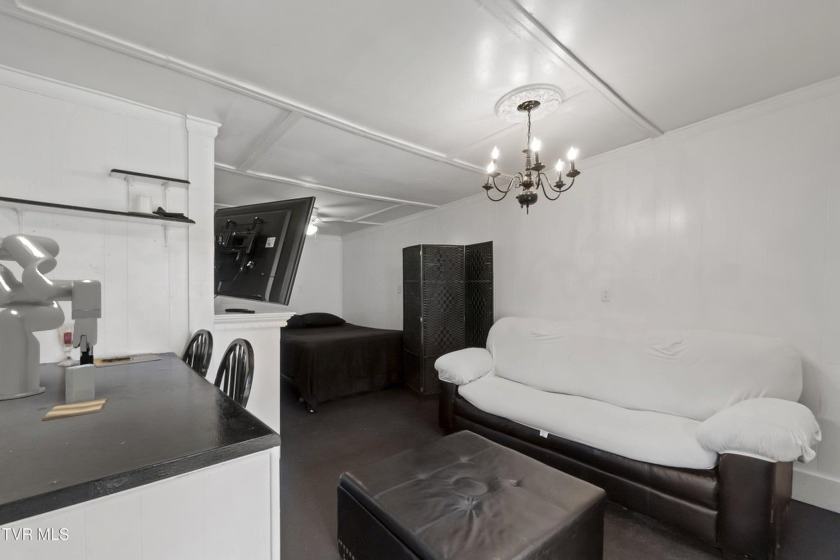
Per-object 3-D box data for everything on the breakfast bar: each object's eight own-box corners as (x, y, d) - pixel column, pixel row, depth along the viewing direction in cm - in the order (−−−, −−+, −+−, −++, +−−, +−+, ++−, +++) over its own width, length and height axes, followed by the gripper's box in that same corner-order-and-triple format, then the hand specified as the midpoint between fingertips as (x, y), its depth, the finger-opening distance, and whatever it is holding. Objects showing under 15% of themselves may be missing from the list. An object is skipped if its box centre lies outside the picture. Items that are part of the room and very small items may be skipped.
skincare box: (88, 398, 116) (88, 363, 117) (95, 400, 115) (96, 364, 115) (64, 404, 111) (64, 367, 111) (71, 406, 109) (72, 368, 109)
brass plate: (55, 408, 107) (55, 405, 107) (106, 400, 114) (106, 398, 114) (42, 421, 97) (42, 418, 97) (99, 411, 103) (99, 409, 104)
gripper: (77, 314, 124) (77, 365, 123) (65, 316, 111) (65, 372, 111) (104, 313, 128) (105, 362, 127) (97, 314, 116) (97, 369, 115)
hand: (86, 367), depth 119 cm, fingers closed
